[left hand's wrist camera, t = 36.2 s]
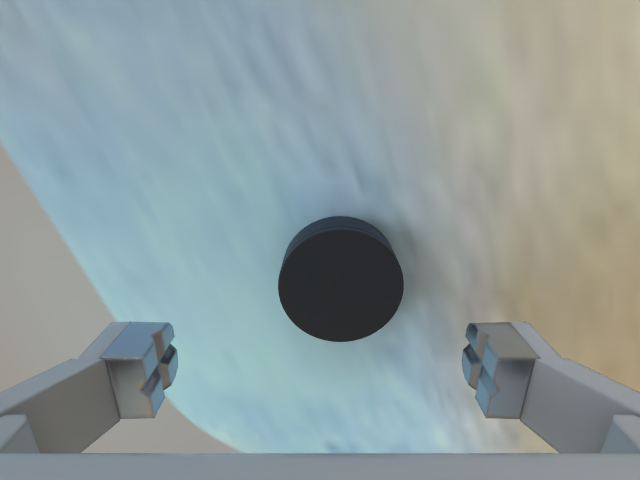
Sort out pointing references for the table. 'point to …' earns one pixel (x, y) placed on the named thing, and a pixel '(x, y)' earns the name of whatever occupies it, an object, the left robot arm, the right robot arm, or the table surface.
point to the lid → (340, 280)
